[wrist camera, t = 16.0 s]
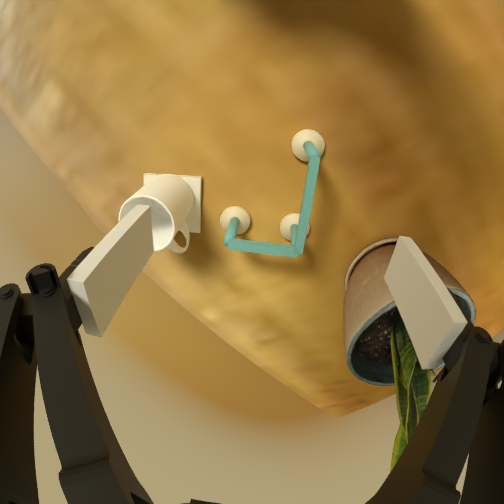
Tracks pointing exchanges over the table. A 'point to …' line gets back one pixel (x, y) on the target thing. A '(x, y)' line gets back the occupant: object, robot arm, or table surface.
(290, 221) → the wire course
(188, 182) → the coaster
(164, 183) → the mug
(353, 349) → the potted plant
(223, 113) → the table surface
